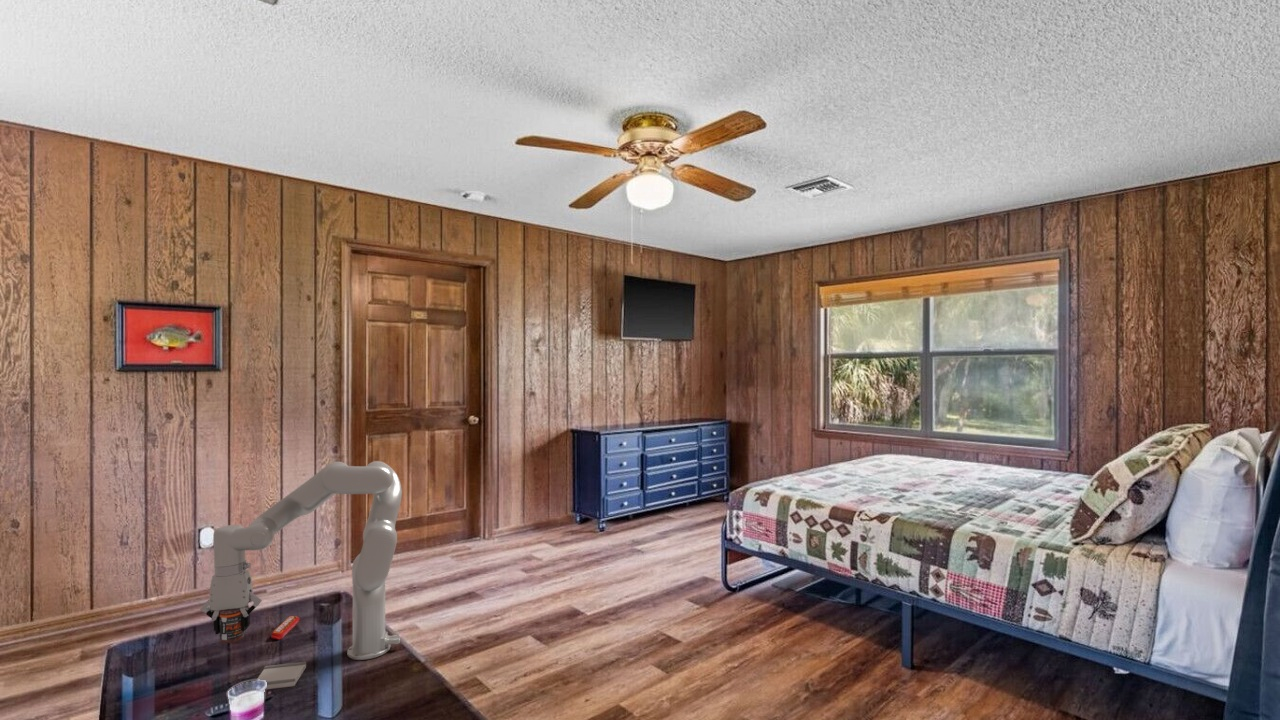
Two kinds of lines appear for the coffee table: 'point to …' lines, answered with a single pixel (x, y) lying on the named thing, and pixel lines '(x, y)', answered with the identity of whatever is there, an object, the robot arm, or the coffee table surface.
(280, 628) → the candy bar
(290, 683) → the mat
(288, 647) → the coffee table surface
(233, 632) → the supplement bottle
